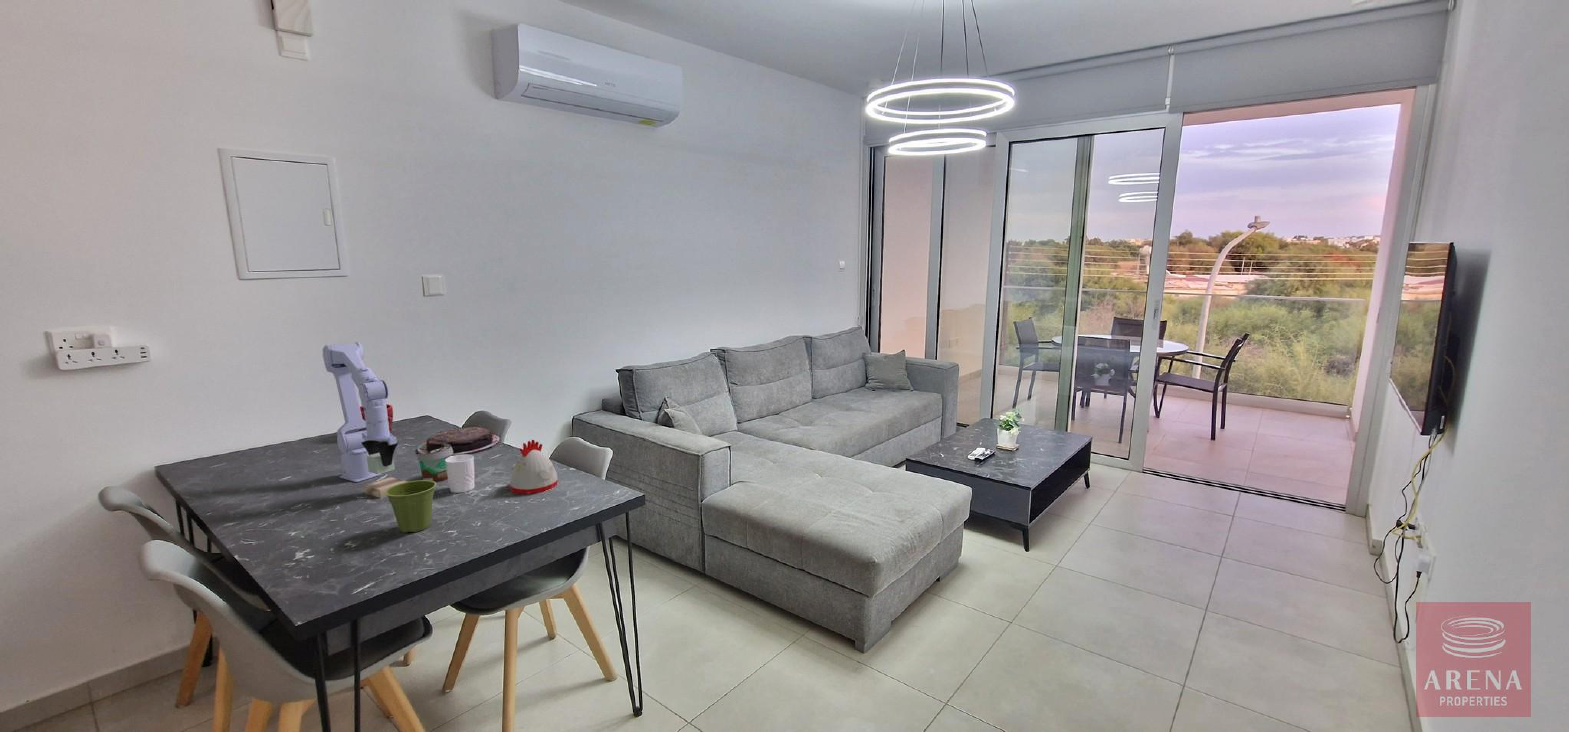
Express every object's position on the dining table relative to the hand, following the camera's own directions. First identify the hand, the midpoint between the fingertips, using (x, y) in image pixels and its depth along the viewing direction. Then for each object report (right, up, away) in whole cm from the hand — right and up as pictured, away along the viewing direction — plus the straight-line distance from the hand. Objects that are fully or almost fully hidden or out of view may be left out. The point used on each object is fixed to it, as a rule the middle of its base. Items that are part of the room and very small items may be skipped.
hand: (382, 463), depth 190 cm
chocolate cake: (-1, -1, +48) cm, 48 cm away
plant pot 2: (+24, -14, -23) cm, 36 cm away
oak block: (0, -9, +2) cm, 9 cm away
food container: (+12, -7, +13) cm, 19 cm away
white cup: (+23, -9, +4) cm, 25 cm away
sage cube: (0, -2, 0) cm, 2 cm away
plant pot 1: (-41, +1, +60) cm, 73 cm away
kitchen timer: (+44, -8, +6) cm, 45 cm away
